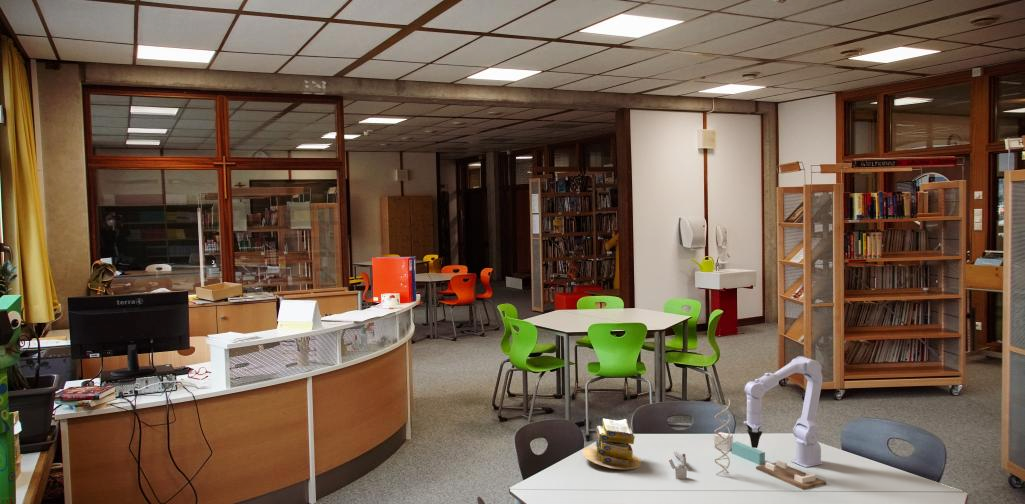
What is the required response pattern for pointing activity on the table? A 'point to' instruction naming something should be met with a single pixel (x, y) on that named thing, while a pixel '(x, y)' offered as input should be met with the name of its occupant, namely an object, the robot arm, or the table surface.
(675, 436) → the table surface
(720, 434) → the dna model
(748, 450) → the slat
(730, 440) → the beige cube
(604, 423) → the stacked boxes on plate
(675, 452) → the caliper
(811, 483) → the walnut board
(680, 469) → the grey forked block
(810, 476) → the end caps
